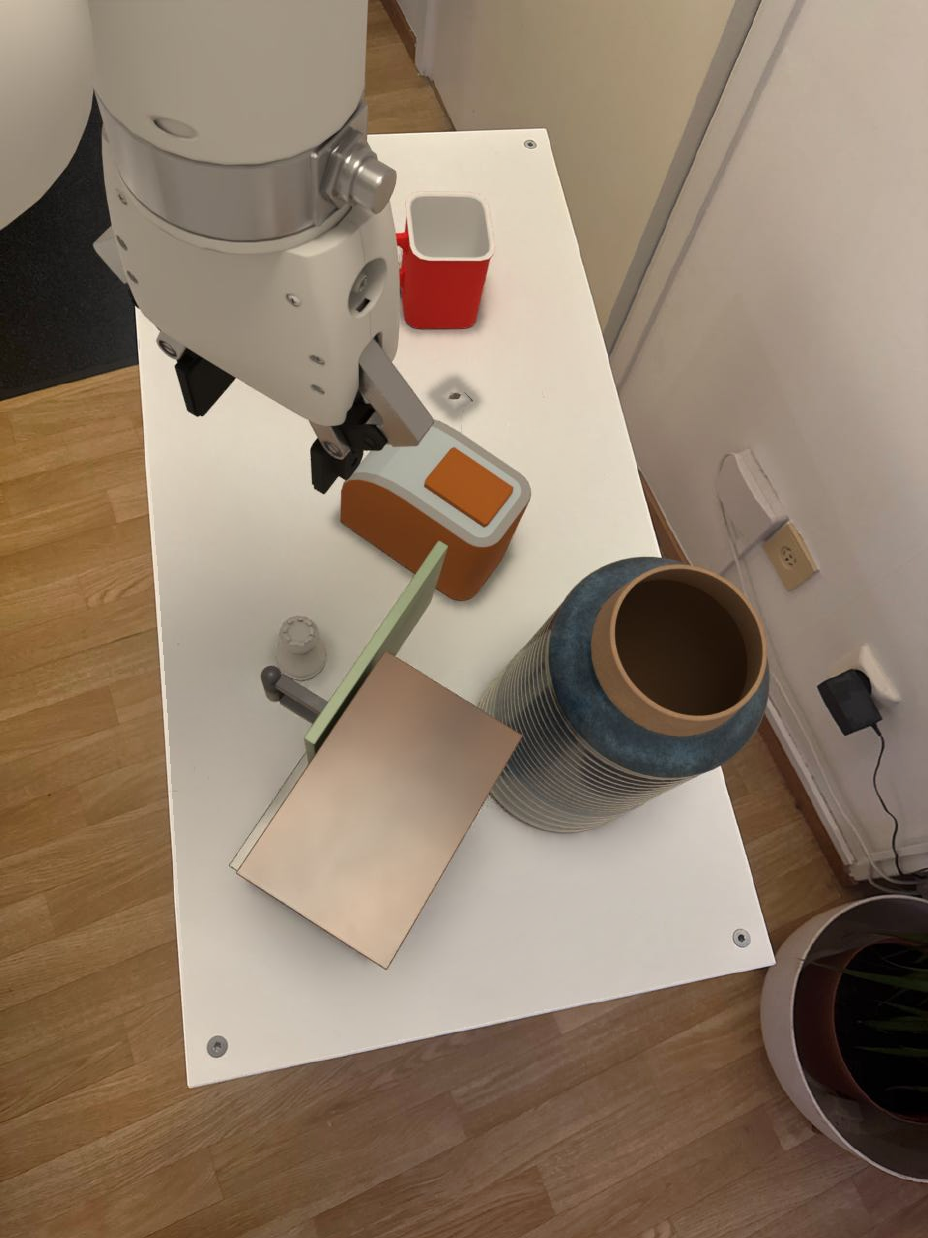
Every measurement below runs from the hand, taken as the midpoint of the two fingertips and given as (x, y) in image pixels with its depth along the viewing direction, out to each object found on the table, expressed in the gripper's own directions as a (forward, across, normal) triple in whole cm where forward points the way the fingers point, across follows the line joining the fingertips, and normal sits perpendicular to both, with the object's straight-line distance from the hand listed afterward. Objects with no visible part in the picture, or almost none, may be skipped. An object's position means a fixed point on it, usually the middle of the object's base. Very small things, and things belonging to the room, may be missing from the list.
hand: (274, 430), depth 43 cm
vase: (+40, -24, -6) cm, 47 cm away
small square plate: (+40, +3, -32) cm, 51 cm away
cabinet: (+40, -13, +11) cm, 43 cm away
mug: (+40, +12, -40) cm, 58 cm away
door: (+19, -6, +4) cm, 20 cm away
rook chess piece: (+40, 0, 0) cm, 40 cm away
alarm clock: (+40, -3, -17) cm, 43 cm away
